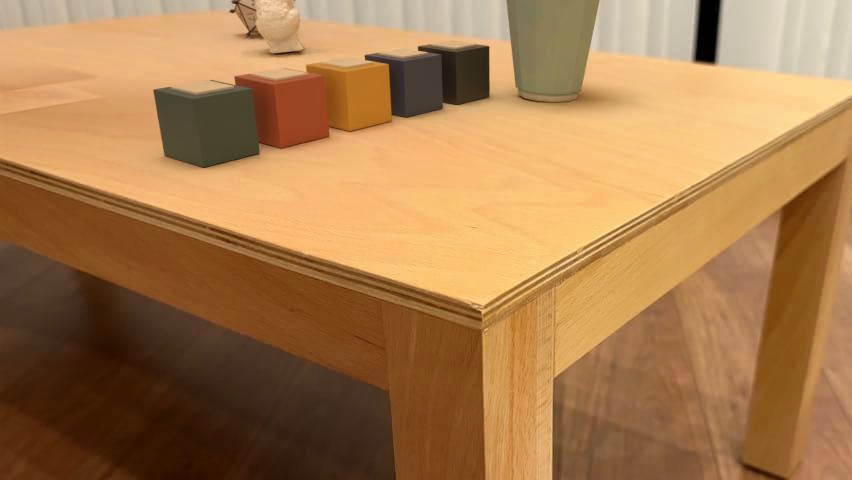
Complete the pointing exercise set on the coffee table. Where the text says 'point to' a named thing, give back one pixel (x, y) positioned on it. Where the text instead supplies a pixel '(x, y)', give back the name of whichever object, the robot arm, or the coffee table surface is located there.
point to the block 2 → (287, 106)
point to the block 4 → (462, 70)
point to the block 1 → (207, 122)
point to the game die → (246, 14)
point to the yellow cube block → (355, 92)
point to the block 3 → (412, 80)
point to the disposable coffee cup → (550, 46)
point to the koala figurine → (279, 25)
